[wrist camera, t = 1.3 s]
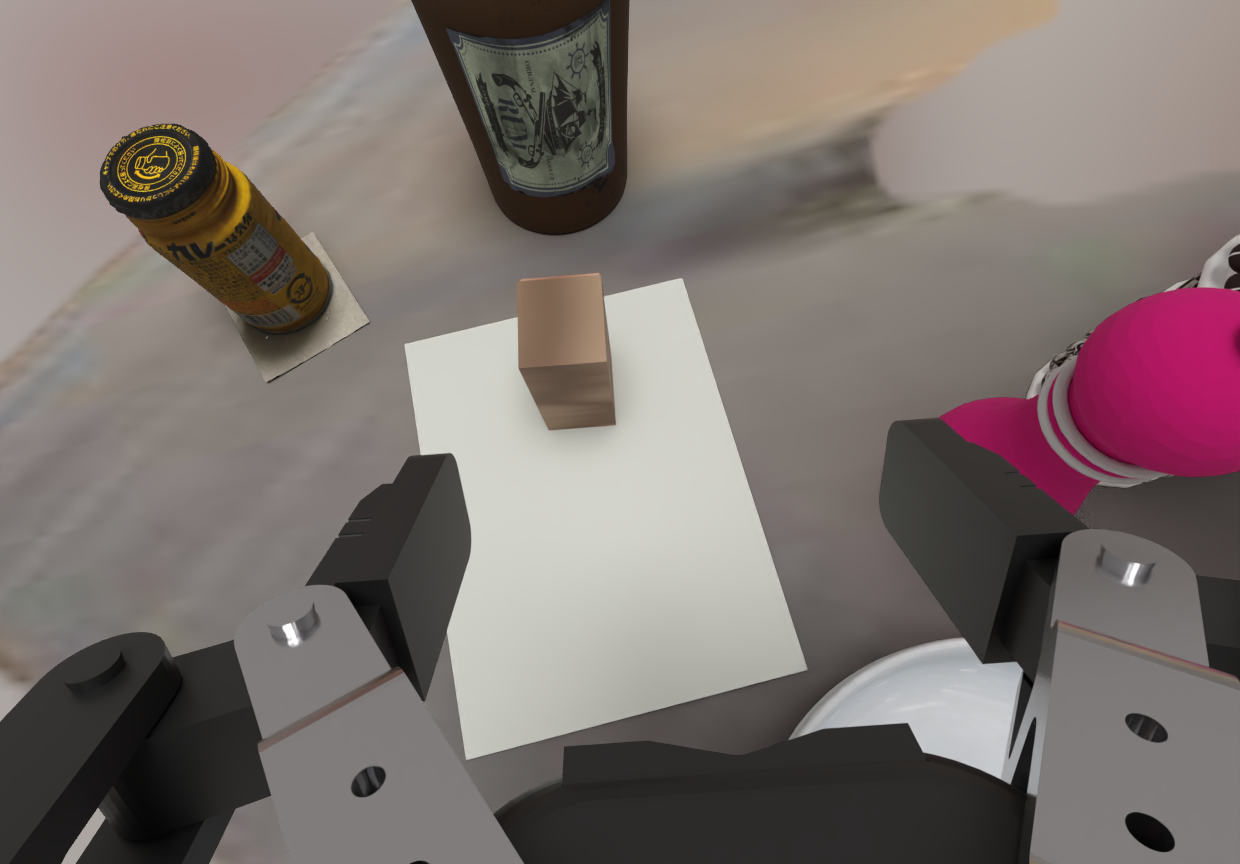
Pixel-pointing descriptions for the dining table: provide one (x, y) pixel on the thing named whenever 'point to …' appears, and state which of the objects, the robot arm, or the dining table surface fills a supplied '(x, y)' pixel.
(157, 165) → the condiment
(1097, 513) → the dining table surface
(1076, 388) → the pepper mill
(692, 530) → the rubber mat
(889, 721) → the serving bowl
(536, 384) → the walnut block
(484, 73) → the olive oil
